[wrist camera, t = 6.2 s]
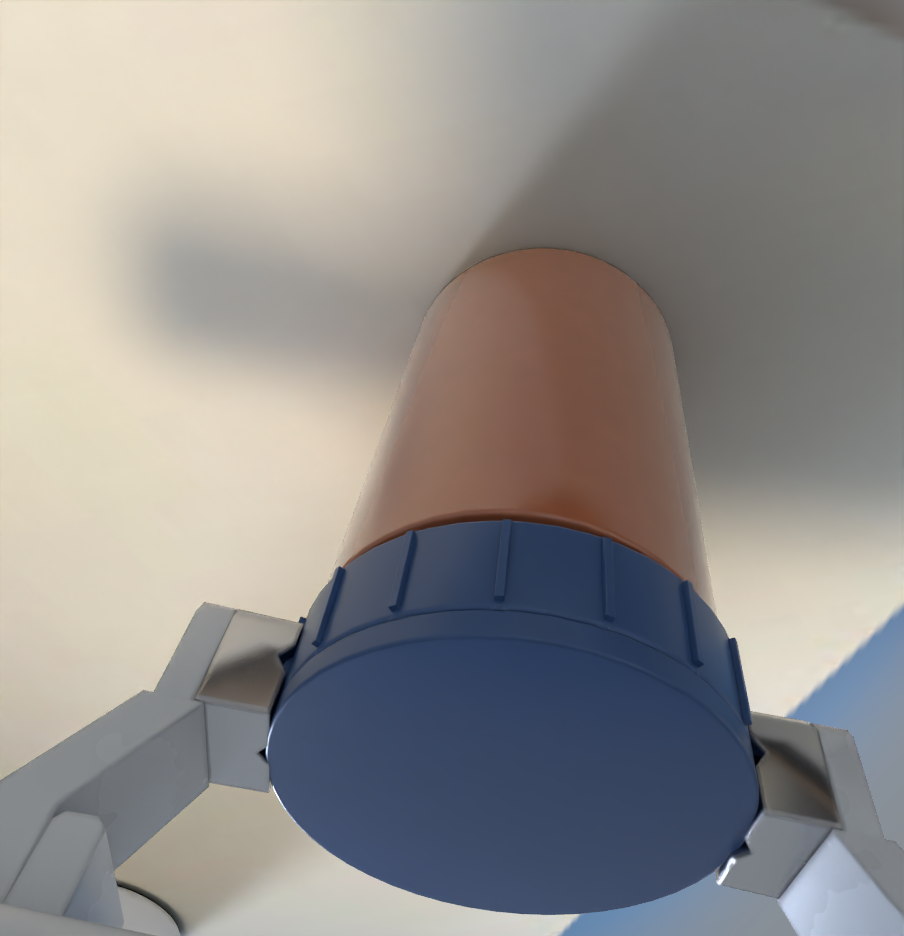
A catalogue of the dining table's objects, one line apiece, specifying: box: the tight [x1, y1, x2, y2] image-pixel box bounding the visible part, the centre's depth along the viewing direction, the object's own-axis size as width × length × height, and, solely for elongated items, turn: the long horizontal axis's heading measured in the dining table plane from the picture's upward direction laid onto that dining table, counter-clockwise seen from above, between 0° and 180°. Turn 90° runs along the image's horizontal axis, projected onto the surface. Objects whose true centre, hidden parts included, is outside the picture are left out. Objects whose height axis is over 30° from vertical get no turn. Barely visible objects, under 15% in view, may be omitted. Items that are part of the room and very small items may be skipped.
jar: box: [328, 248, 717, 617], centre depth 15 cm, size 6×6×11 cm
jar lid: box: [265, 519, 759, 915], centre depth 11 cm, size 6×6×2 cm
